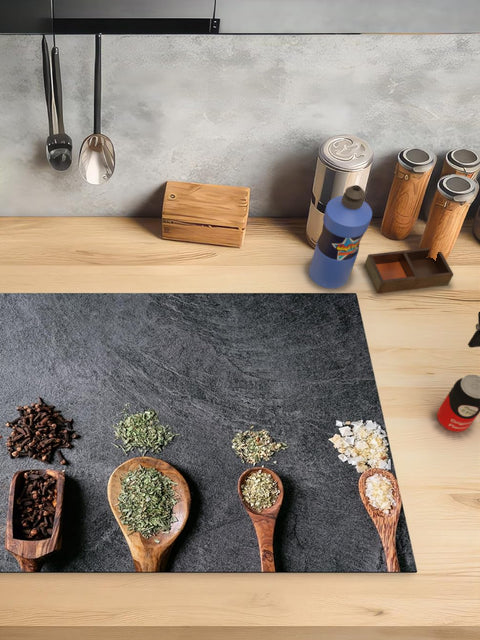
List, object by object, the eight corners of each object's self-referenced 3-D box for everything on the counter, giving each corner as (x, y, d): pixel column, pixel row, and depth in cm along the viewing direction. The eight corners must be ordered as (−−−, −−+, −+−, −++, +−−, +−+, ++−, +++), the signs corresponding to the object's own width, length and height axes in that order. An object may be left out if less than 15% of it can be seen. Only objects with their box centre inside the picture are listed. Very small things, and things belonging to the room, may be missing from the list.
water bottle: (356, 285, 164) (388, 200, 144) (316, 292, 163) (343, 207, 143) (340, 255, 170) (369, 169, 149) (302, 262, 169) (325, 176, 148)
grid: (433, 257, 169) (438, 246, 166) (447, 285, 164) (453, 274, 161) (364, 265, 168) (368, 254, 165) (376, 293, 163) (381, 282, 160)
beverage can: (428, 416, 144) (450, 382, 134) (450, 401, 146) (473, 366, 136) (453, 439, 141) (477, 406, 131) (475, 423, 143) (501, 389, 133)
